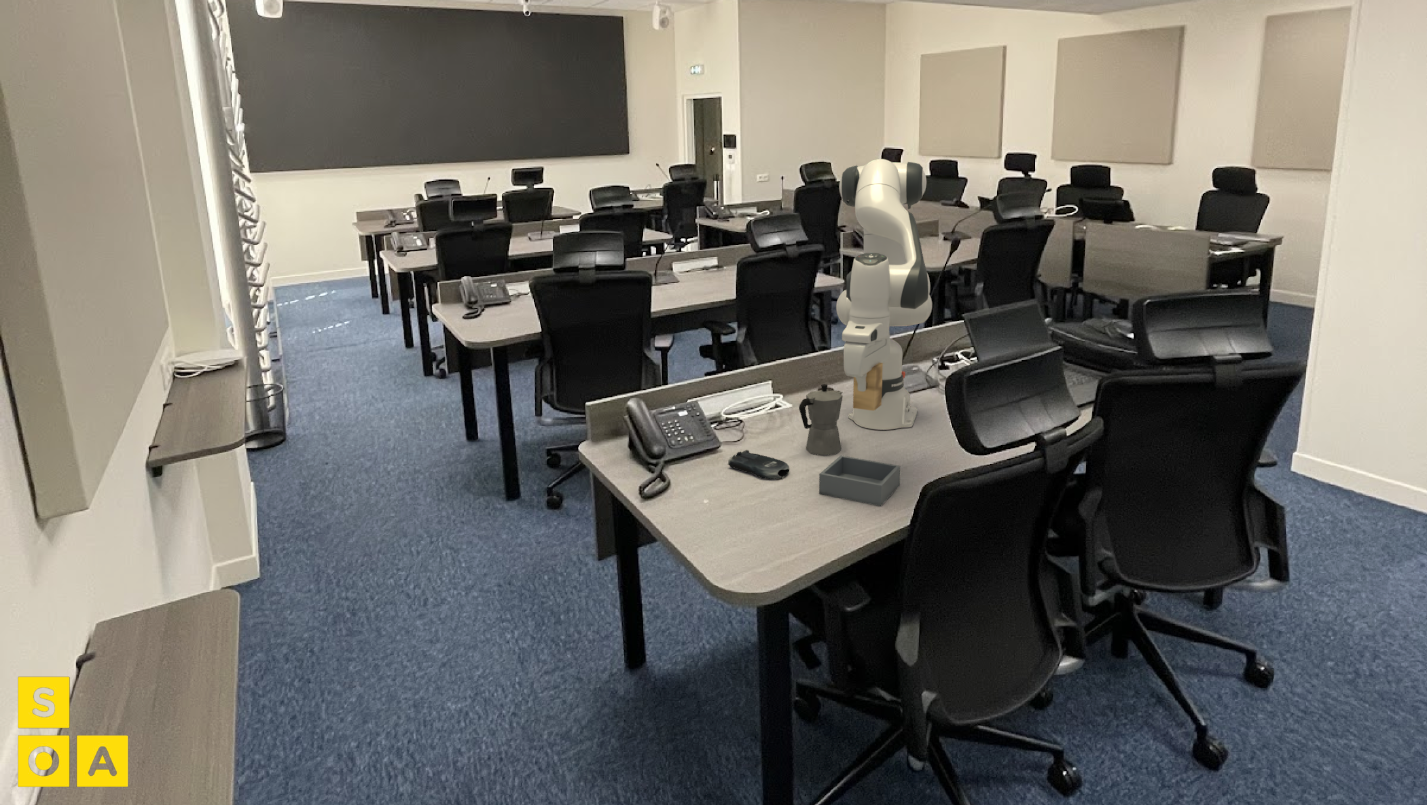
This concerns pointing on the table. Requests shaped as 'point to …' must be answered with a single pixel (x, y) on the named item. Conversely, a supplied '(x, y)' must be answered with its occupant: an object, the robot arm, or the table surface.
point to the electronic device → (758, 465)
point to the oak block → (869, 390)
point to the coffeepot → (822, 421)
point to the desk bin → (859, 480)
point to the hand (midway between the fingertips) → (867, 387)
